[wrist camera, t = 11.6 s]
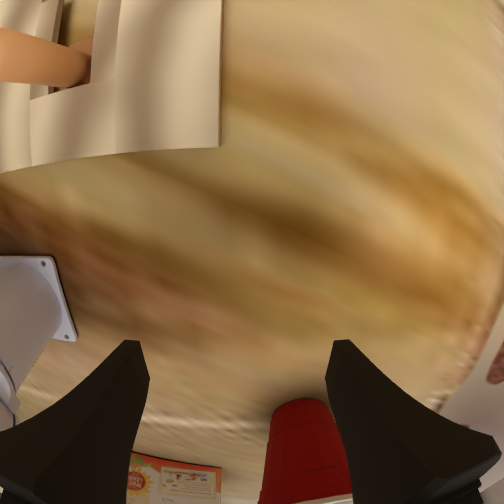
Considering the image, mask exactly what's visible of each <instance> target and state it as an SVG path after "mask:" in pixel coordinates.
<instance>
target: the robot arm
mask: <svg viewBox="0 0 504 504" xmlns="http://www.w3.org/2000/svg"><path fill="white" fill-rule="evenodd" d="M43 261H44V262H45V264H46V265H45V264H44V262H43ZM67 335H68V336H67ZM77 338H78V337H77V334H76V331H75V328H74V325H73V322H72V319H71V316H70V313H69V310H68V307H67V304H66V301H65V298H64V294H63V291H62V288H61V284H60V280H59V277H58V273H57V269H56V265H55V262H54V259H53V258H52V257H50V256H0V486H1V487H2V488H3V489H4V490H3V492H2V493H0V504H126V496H127V483H128V473H129V465H130V458H131V453H132V448H133V444H134V441H135V437H136V434H137V430H138V427H139V424H140V420H141V417H142V413H143V410H144V407H145V403H146V399H147V393H148V387H149V381H150V376H149V373H148V370H147V366H146V363H145V359H144V356H143V352H142V348H141V345H140V341H135V340H124V341H123V342H122V343H121V344H120V345H119V346H118V347H117V348H116V349H115V350H114V351H113V352H112V353H111V354H110V355H109V356H108V357H107V358H106V359H105V360H104V361H103V362H102V363H101V364H100V365H99V366H98V367H97V368H96V369H95V370H94V371H93V372H92V373H91V374H90V375H89V376H88V377H86V378H85V379H84V380H83V381H82V382H81V383H80V384H79V385H77V386H76V387H75V388H74V389H73V390H72V391H70V392H69V393H68V394H67V395H65V396H64V397H63V398H61V399H60V400H59V401H57V402H56V403H55V404H53V405H52V406H50V407H49V408H47V409H45V410H44V411H42V412H40V413H39V414H37V415H35V416H34V417H32V418H30V419H28V420H26V421H24V422H22V423H20V419H19V417H18V415H17V414H16V413H15V412H16V411H17V409H18V407H19V405H20V403H21V402H20V401H19V399H18V398H17V396H16V392H17V391H18V389H19V387H20V386H21V384H22V383H23V381H24V379H25V378H26V376H27V375H28V373H29V372H30V370H31V368H32V367H33V365H34V364H35V362H36V361H37V359H38V358H39V356H40V355H41V353H42V352H43V350H44V349H45V347H46V346H47V345H48V343H49V342H50V340H51V339H58V340H65V341H72V342H75V341H76V340H77ZM325 380H326V386H327V392H328V397H329V401H330V405H331V408H332V411H333V414H334V417H335V420H336V423H337V426H338V429H339V433H340V436H341V439H342V442H343V445H344V449H345V453H346V457H347V463H348V469H349V474H350V481H351V489H352V497H353V504H504V478H503V479H501V480H500V481H498V482H497V483H495V484H494V485H492V486H490V487H489V488H487V489H486V490H484V491H483V492H481V493H479V490H478V488H479V487H480V486H481V482H480V480H479V478H480V477H481V476H482V475H484V474H485V473H486V472H487V471H488V470H489V469H490V468H492V467H493V466H494V465H495V464H496V463H497V462H498V460H499V459H500V457H501V455H502V453H501V451H500V449H499V447H498V445H497V444H496V442H495V440H494V438H493V437H492V436H490V435H487V434H484V433H480V432H477V431H474V430H471V429H469V428H466V427H464V426H461V425H459V424H457V423H454V422H452V421H450V420H448V419H446V418H444V417H443V416H441V415H439V414H437V413H435V412H434V411H432V410H430V409H429V408H427V407H425V406H424V405H422V404H421V403H420V402H418V401H417V400H415V399H414V398H412V397H411V396H410V395H408V394H407V393H406V392H404V391H403V390H402V389H401V388H400V387H398V386H397V385H396V384H395V383H394V382H392V381H391V380H390V379H389V378H388V377H387V376H386V375H385V374H383V373H382V372H381V371H380V370H379V369H378V368H377V367H376V366H375V365H374V364H373V363H372V362H371V361H370V360H369V359H368V358H367V357H366V356H365V355H364V354H363V353H362V352H361V351H360V350H359V349H358V348H357V347H356V346H355V345H354V344H353V343H352V342H351V341H350V340H349V339H347V340H335V341H334V342H333V347H332V351H331V355H330V360H329V364H328V368H327V372H326V376H325Z"/></svg>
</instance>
